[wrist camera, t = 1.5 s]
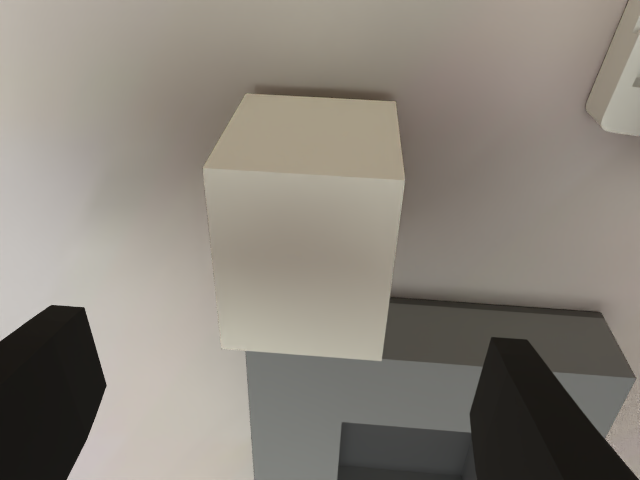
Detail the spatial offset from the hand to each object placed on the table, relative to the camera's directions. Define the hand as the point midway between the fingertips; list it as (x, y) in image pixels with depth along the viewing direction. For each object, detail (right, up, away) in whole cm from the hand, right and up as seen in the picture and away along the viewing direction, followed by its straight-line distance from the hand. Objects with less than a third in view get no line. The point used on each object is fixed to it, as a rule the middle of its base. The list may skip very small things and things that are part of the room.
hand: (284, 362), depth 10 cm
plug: (+1, +5, +7) cm, 8 cm away
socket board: (+4, -10, +16) cm, 19 cm away
